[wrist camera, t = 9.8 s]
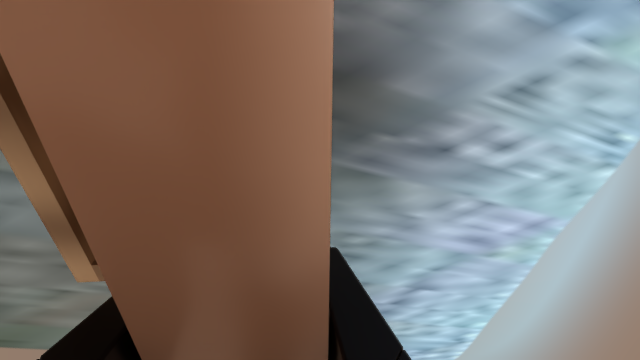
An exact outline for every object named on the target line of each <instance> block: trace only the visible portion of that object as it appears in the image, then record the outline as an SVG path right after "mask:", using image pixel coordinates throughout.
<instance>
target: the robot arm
mask: <svg viewBox="0 0 640 360" xmlns="http://www.w3.org/2000/svg"><path fill="white" fill-rule="evenodd" d="M37 360H142V359H141V357H140V355H139V353H138V350H137V348H136V346H135V344H134V342H133V340H132V337H131V335H130V333H129V331H128V329H127V327H126V324H125V322H124V320H123V318H122V316H121V314H120V311H119V309H118V307H117V305H116V303H115V301H114V298H113V296H112V297H110V298H109V299H108V300H107V301H106V302H105V303H103V304H102V305H101V306H100V307H99V308H97V309H96V310H95V311H94V312H93V313H91V314H90V315H89V316H88V317H87V318H86V319H84V320H83V321H82V322H81V323H80V324H78V325H77V326H76V327H75V328H74V329H72V330H71V331H70V332H69V333H68V334H66V335H65V336H64V337H63V338H62V339H61V340H59V341H58V342H57V343H56V344H55V345H53V346H52V347H51V348H50V349H49V350H47V351H46V352H45V353H44V354H43V355H42V356H41V357H40V359H37ZM328 360H411V358H410V357H409V355H408V354H407V352H406V351H405V350H403V346H402V345H401V343H400V342H399V340H398V339H397V337H396V336H395V334H394V333H393V331H392V330H391V328H390V327H389V325H388V324H387V322H386V321H385V319H384V318H383V316H382V315H381V313H380V312H379V310H378V309H377V307H376V306H375V304H374V303H373V301H372V300H371V298H370V297H369V295H368V294H367V292H366V291H365V289H364V288H363V286H362V285H361V283H360V282H359V280H358V279H357V277H356V276H355V274H354V273H353V271H352V270H351V268H350V267H349V265H348V264H347V262H346V260H345V259H344V257H343V256H342V254H341V253H340V251H339V250H338V249H337V248H336V247H330V270H329V333H328Z"/></svg>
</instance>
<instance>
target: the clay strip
mask: <svg viewBox="0 0 640 360" xmlns="http://www.w3.org/2000/svg"><path fill="white" fill-rule="evenodd" d="M333 20H334V0H0V54H1V56H2V58H3V60H4V63H5V65H6V67H7V69H8V71H9V73H10V76H11V78H12V80H13V82H14V84H15V86H16V89H17V91H18V93H19V95H20V97H21V99H22V102H23V104H24V106H25V108H26V110H27V112H28V115H29V117H30V119H31V121H32V123H33V125H34V127H35V130H36V132H37V134H38V136H39V138H40V140H41V143H42V145H43V147H44V149H45V151H46V153H47V156H48V158H49V160H50V162H51V164H52V166H53V169H54V171H55V173H56V175H57V177H58V179H59V182H60V184H61V186H62V188H63V190H64V192H65V195H66V197H67V199H68V201H69V203H70V205H71V208H72V210H73V212H74V214H75V216H76V218H77V221H78V223H79V225H80V227H81V229H82V231H83V234H84V236H85V238H86V240H87V242H88V244H89V247H90V249H91V251H92V253H93V255H94V257H95V260H96V262H97V264H98V266H99V268H100V270H101V273H102V275H103V277H104V279H105V281H106V283H107V286H108V288H109V290H110V292H111V294H112V296H113V298H114V301H115V303H116V305H117V307H118V309H119V311H120V314H121V316H122V318H123V320H124V322H125V324H126V327H127V329H128V331H129V333H130V335H131V337H132V340H133V342H134V344H135V346H136V348H137V350H138V353H139V355H140V357H141V359H142V360H328V333H329V270H330V208H331V145H332V83H333Z"/></svg>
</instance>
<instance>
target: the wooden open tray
mask: <svg viewBox="0 0 640 360" xmlns="http://www.w3.org/2000/svg"><path fill="white" fill-rule="evenodd" d="M0 149H1V151H2V152H3V154H4V156H5V158H6V159H7V161H8V163H9V165H10V166H11V168H12V170H13V171H14V173H15V175H16V177H17V178H18V180H19V182H20V184H21V185H22V187H23V189H24V191H25V192H26V194H27V196H28V197H29V199H30V201H31V203H32V204H33V206H34V208H35V210H36V211H37V213H38V215H39V217H40V218H41V220H42V222H43V223H44V225H45V227H46V229H47V230H48V232H49V234H50V236H51V237H52V239H53V241H54V243H55V244H56V246H57V248H58V249H59V251H60V253H61V255H62V256H63V258H64V260H65V262H66V263H67V265H68V267H69V269H70V270H71V272H72V274H73V275H74V277H75V279H76V281H77V282H94V281H105V279H104V277H103V275H102V273H101V270H100V268H99V266H98V264H97V262H96V260H95V257H94V255H93V253H92V251H91V249H90V247H89V244H88V242H87V240H86V238H85V236H84V234H83V231H82V229H81V227H80V225H79V223H78V221H77V218H76V216H75V214H74V212H73V210H72V208H71V205H70V203H69V201H68V199H67V197H66V195H65V192H64V190H63V188H62V186H61V184H60V182H59V179H58V177H57V175H56V173H55V171H54V169H53V166H52V164H51V162H50V160H49V158H48V156H47V153H46V151H45V149H44V147H43V145H42V143H41V140H40V138H39V136H38V134H37V132H36V130H35V127H34V125H33V123H32V121H31V119H30V117H29V115H28V112H27V110H26V108H25V106H24V104H23V102H22V99H21V97H20V95H19V93H18V91H17V89H16V86H15V84H14V82H13V80H12V78H11V76H10V73H9V71H8V69H7V67H6V65H5V63H4V60H3V58H2V56H1V54H0Z"/></svg>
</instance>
